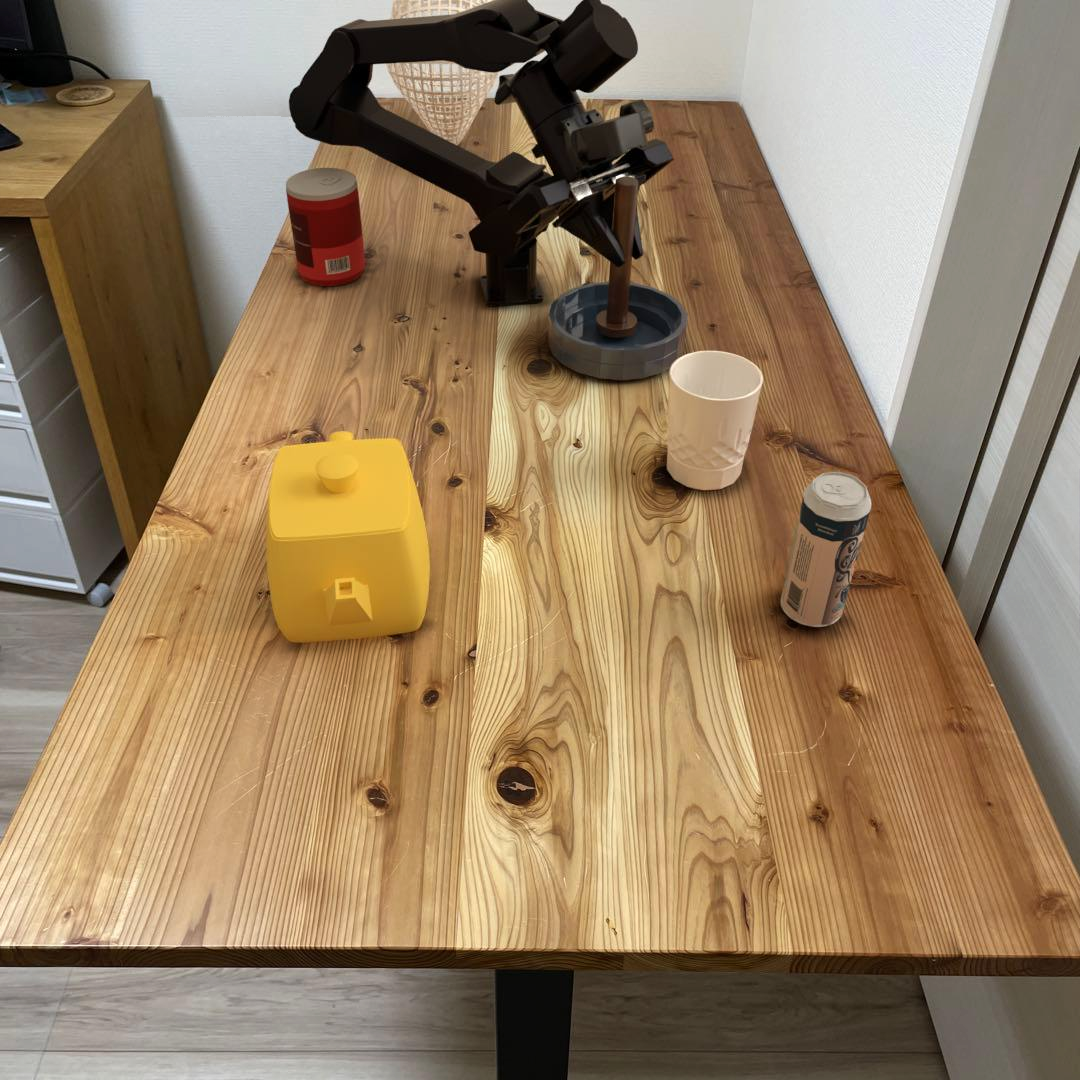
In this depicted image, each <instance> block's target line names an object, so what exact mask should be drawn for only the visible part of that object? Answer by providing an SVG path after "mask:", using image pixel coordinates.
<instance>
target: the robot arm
mask: <svg viewBox="0 0 1080 1080" xmlns="http://www.w3.org/2000/svg"><path fill="white" fill-rule="evenodd" d="M543 53H546V54H545V55H544V57H542V58H541V59H540V60H537V59H536V60H534V58H535V57H538V56H539V55H540V54H543ZM638 53H639V43H638V39H637V35H636V33H635V31H634V29H633V27H632V25H631V24H630V22H629V21H628V19H627V18H626V17H625V16H622V15H621V14H620V13H619V12H618V11H617V10H616V9H614V8H613V7H611V5H608V4H605V3H603V2H602V1H601V0H581V1H580V2H579V3H578V4H577V5H576V6H575V7H574V9H573V11H572V13H571V14H569V16H567V17H566V18H565V19H564V20H563V19H560V18H558V17H555V16H553V15H551V14H547V13H546V12H545V13H544V12H542V11H540V10H537V9H535V7H534V6H533V5H532V4H531V3H530V2H529V1H528V0H494V1H493V0H492V1H491V2H488V3H485V4H482V5H479V6H477V7H474V8H473V7H472V8H471V9H468V8H467V10H466V11H463V12H460V13H457V12H456V13H454V14H453V13H451V15H448V14H441V15H439V16H438V15H433V16H431V15H430V16H428V15H427V16H426V15H425V17H422V16H420V17H417V16H416V17H414V16H413V17H410V18H406V17H403V18H401V19H388V18H387V19H378V20H366V19H364V18H363V19H362V18H359V19H356V20H352V21H350V22H348V23H346V24H343V25H340V26H339V27H336V28H334V29H333V30H332V32H331V33H330V35H329V36H328V37H327V39H326V41H325V44H324V46H323V49H322V50H321V52H320V53H319V54H318V56H317V57H316V59H315V60H314V62H312V64H311V66H310V67H308V69H307V71H306V72H305V73H304V75H303V77H302V78H301V80H300V81H299V82H300V83H299V85H297V86H295V87H294V88H293V89H292V90H291V92H290V94H289V98H288V110H289V114H290V117H291V119H292V121H293V124H294V127H295V129H296V130H297V131H298V132H299V133H300V134H301V135H302V136H304V137H306V138H307V139H311V140H314V141H317V142H319V143H324V144H327V145H330V146H340V147H341V146H342V147H357V148H361V149H364V150H366V151H367V152H369V153H371V154H373V155H375V156H377V157H379V158H381V159H383V160H385V161H387V162H389V163H390V164H393V165H394V166H397V167H398V168H400V169H403V170H404V171H407V172H408V173H410V174H412V175H414V176H416V177H418V178H420V179H421V180H424V181H426V182H428V183H429V184H432V185H433V186H435V187H437V188H439V189H442V190H444V191H445V192H446V193H449V194H451V195H453V196H455V197H457V198H459V199H460V200H463V201H464V202H466V203H467V204H468V205H469V206H470V207H471V209H472V210H473V213H474V214H475V215H476V217H477V219H478V220H479V223H478V224H477V225H475V226H474V227H473V228H472V229H470V230H469V232H468V237H469V239H470V243H471V245H472V248H473V250H474V251H475V252H478V253H481V254H485V275H481V276H479V282H480V286H481V289H482V293H483V296H484V300H485V303H486V305H488V307H489V306H490V307H493V306H505V305H518V304H529V303H530V304H532V303H542V302H544V300H545V296H544V293H543V290H542V287H541V285H540V282H539V279H538V277H537V276H538V274H537V272H538V266H537V263H538V239H537V237H539V236H540V235H541V234H542V233H545V232H546V231H547V230H548V228H549V225H550V224H551V225H552V226H553V228H554V229H557V228H562V229H563V230H564V231H566V232H568V233H569V234H571V235H572V236H574V237H576V238H577V239H579V240H580V241H582V243H585V244H586V245H587V246H588V247H590V248H592V249H593V250H595V252H597V253H598V254H600V255H601V256H602V257H604V258H605V259H606V260H607V261H609V263H610V262H611V263H613V264H614V265H615V266H617V267H621V266H622V265H624V264H625V263H626V260H625V258H624V255H623V252H622V250H621V247H620V245H619V243H618V241H617V239H616V237H615V235H614V233H613V231H612V226H613V211H614V197H615V182H616V179H617V178H619V177H633V178H635V179H637V180H638V193H637V196H639V192H640V188H641V186H642V185H644V184H646V183H648V181H650V180H651V179H652V178H653V177H654V176H656V175H657V174H658V173H660V172H661V171H662V170H663V169H664V168H665V167H667V166H669V164H670V163H672V162H673V161H674V160H675V159H674V157H673V155H672V152H671V151H670V148H669V146H668V145H667V143H666V141H664V140H661V139H658V138H654V139H651V140H648V139H647V134H650V133H653V132H654V129H655V121H654V119H653V115H652V113H651V111H650V109H649V107H648V106H647V104H646V103H645V101H644V100H643V99H642V98H641V99H638V100H634V101H630V102H628V103H625V104H622V105H620V107H619V115H618V116H616V117H613V118H609V119H607V120H604V119H603V117H602V115H601V113H600V112H599V111H598V110H597V109H596V108H594V109H590V110H588V111H587V110H586V107H585V105H584V104H583V101H582V100H581V98H580V96H579V94H578V92H577V91H579V92H582V93H586V94H591V93H594V92H595V91H596V90H598V89H599V88H600V87H601V86H602V85H604V84H605V83H606V82H607V81H608V80H610V79H611V78H612V77H613V76H614V75H615V74H617V73H618V72H619V71H620V70H621V69H623V68H624V67H625V66H626V65H627V64H628V63H629V62H631V61H632V60H633V59H634V58H636V56H637V55H638ZM532 59H533V60H532ZM426 61H449V62H454V63H456V64H455V65H457V66H458V65H460V66H461V67H462V69H463V68H464V69H465V68H466V69H467V70H469V69H472V70H474V71H475V70H478V71H481V72H483V73H484V72H491V73H496V72H498V73H499V72H502V71H504V70H506V69H508V68H509V67H511V66H513V65H514V64H523V65H522V66H521V67H520V68H519V69H518V70H516V72H515V73H509V74H508V73H507V74H500V75H499V77H498V86H497V89H496V91H495V96H494V99H493V100H494V102H493V103H495V105H497V106H500V105H506V104H515V103H516V105H517V107H518V109H519V110H520V113H521V115H522V116H523V118H524V121H525V123H526V124H527V127H528V128H529V131H530V132H531V135H532V136H533V138H534V140H535V142H536V144H535V145H534V146H533V147H532V148H531V152H532V154H533V156H534V158H535V160H536V159H540V158H543V157H544V159H545V161H546V163H547V165H548V167H549V169H550V170H551V172H552V174H551V173H549V172H547V171H545V170H546V169H547V165H546V164H538V163H536V162H533V161H531V160H529V159H528V158H527V157H525V156H524V155H522V154H521V153H519V152H516V151H512V152H510V153H508V154H507V155H506V156H504V157H503V158H500V160H498V161H490V160H487V159H485V158H483V157H481V156H479V155H477V154H475V153H473V152H471V151H470V150H467V149H465V148H463V147H461V146H459V145H455V144H453V143H451V142H449V141H447V140H445V139H444V138H442V137H440V136H438V135H436V134H434V133H432V132H430V131H429V129H428V130H427V129H426V128H424V127H421V126H420V125H418V124H416V123H414V122H412V121H410V120H409V119H406V118H404V117H402V116H400V115H398V114H396V113H394V112H392V111H390V110H388V109H386V108H384V107H383V106H382V105H381V103H380V102H379V100H378V99H377V98H376V96H375V94H374V92H373V91H372V90H371V89H370V87H369V86H370V84H371V81H372V79H373V73H374V72H373V71H374V65H386V64H389V63H392V64H393V63H406V64H408V63H407V62H426ZM616 160H617V161H616ZM614 161H615V162H614ZM613 162H614V163H613ZM643 255H644V249H643V242H642V236H641V229H640V222H639V215H638V204H637V205H636V217H635V229H634V241H633V253H632V259H633V260H639V259H640V258H642V257H643Z"/></svg>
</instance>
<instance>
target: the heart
mask: <svg viewBox="0 0 1080 1080" xmlns="http://www.w3.org/2000/svg"><path fill="white" fill-rule="evenodd" d="M480 1H481V2H480ZM491 1H494V0H486V1H485V0H393V2H392V6H391V7H392V8H391V14H390V19H401V18H411V14H413V18H414V17H426V15H425V12H427V16H434V14H433V12H434V11H437V16H439V15H442V11H447V15H452V12H455V13H456V14H457V13H460V12H463V11H466V10H468V7H469V9H471V8H474V7H477V6H479V5H482V4H485V3H488V2H491ZM416 4H417V5H416ZM444 5H447V6H444ZM452 5H456V7H455V6H452ZM462 6H464V8H463V7H462ZM414 64H416V65H414ZM423 64H424V69H423ZM385 65H386V68H387V71H388V73H389V75H390V77H391V80H392V82H393V83H394V85H395V87H396V88H397V90H398V91H399V92H400V94H401V95H402V97H403V98H404V99H405V100H406V101H407V103H408V104H409V105H410V107H412V109H413V110H414V112H415V113H416V115H417V116H418V117H419V118H420V120H421V121H422V123H423V125H425V126H426V128H427V129H428V131H430V132H432V133H434V134H436V135H438V136H440V137H442V138H444V139H445V140H447V141H449V142H451V143H453V144H455V145H457V146H459V144H460V143H461V142H462V141H463V139H464V138H465V136H466V134H467V133H468V131H469V129H470V127H471V126H472V123H473V122H474V120H475V118H476V116H477V115H478V113H479V112H480V109H481V107H482V106H483V104H484V102H485V100H486V99H487V97H488V95H489V94H490V92H491V91H492V88H493V87H494V84H495V82H496V80H497V77H498V75H499V72H496V73H491V72H484V71H483V73H482V71H478V70H472V69H466V68H464V72H463V67H461V66H460V65H458V64H456V63H454V62H449V61H426V62H407V63H389V64H385ZM436 65H438V67H439V72H437V71H436ZM443 65H449V66H448V67H449V68H448V69H449V70H448V71H449V72H444V68H443ZM453 65H457V72H453ZM428 69H429V70H428ZM414 70H415V71H416V73H417V74H415V72H414ZM424 75H425V76H424ZM467 81H468V82H467ZM444 82H448V83H444ZM454 82H456V83H454ZM417 85H418V86H419V87H420V88H418V86H417ZM474 85H476V86H475V87H474ZM425 86H426V88H427V89H426V90H425ZM437 87H440V91H438V88H437ZM446 87H447V88H449V90H446V91H445V88H446ZM455 87H456V90H454V88H455ZM467 87H468V88H467ZM466 88H467V89H466ZM428 97H430V100H431V101H430V100H429V98H428ZM465 97H466V99H464V98H465ZM435 98H436V101H435ZM439 98H441V102H440V99H439ZM445 98H449V101H448V102H446V99H445ZM459 98H460V100H458V99H459ZM437 108H438V110H437ZM447 109H449V110H447ZM448 121H449V122H448ZM448 131H449V132H448Z"/></svg>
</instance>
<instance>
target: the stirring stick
mask: <svg viewBox="0 0 1080 1080" xmlns="http://www.w3.org/2000/svg"><path fill="white" fill-rule="evenodd" d="M637 193H638V194H639V192H638V180H637V179H635V178H633V177H619V178H617V179H616V182H615V197H614V211H613V226H612V231H613V233H614V235H615V237H616V239H617V241H618V243H619V245H620V247H621V250H622V252H623V255H624V258H625V260H626V263H625V264H624V265H622V266H621V267H617V266H615V265H614V264H613V263H611V262H610V261H609V269H608V270H609V272H608V282H609V285H608V299H607V310H604V311H602V312H600V313H599V314H598V315H597V316H596V323H595V327H596V330H597V331H598V332H599V333H601V334H602V335H605V336H608V337H613V338H622V337H627V336H630V335H632V334H633V333H635V331H636V329H637V318H636V316H635V315H634V314H633V313H631V312H629V311H628V301H629V289H630V283H631V275H632V263H633V257H632V253H633V241H634V229H635V217H636V205H637V206H638V195H637Z"/></svg>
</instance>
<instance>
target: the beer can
mask: <svg viewBox="0 0 1080 1080" xmlns="http://www.w3.org/2000/svg"><path fill="white" fill-rule="evenodd" d="M871 510H872V499H871V496H870V493H869V491H868V486H867V485H866V484H865V483H864V482H862V481H861V480H860V479H859V478H858V477H857V476H854V475H851V474H848V473H845V472H843V471H842V472H841V471H832V472H822V473H821V474H819V475H818V476H817V477H815V478H813V479H812V481H811V482H810V483H809V484H808V485H806V487H805V489H803V495H802V500H801V505H800V510H799V514H798V518H797V523H796V529H795V531H794V537H793V542H792V547H791V551H790V556H789V561H788V565H787V570H786V575H785V579H784V584H783V587H782V593H781V597H780V606H781V609H782V611H783V612H784V613H785V614H786V615H787V617H788V618H790V619H791V620H792V621H794V622H796V623H799V624H800V625H803V626H808V627H810V628H822V627H829V626H831V625H833V624H835V623H837V621H839V620H840V619H841V618H842V616H843V612H844V609H845V605H846V602H847V597H848V594H849V590H850V586H851V583H852V579H853V575H854V572H855V567H856V564H857V560H858V557H859V554H860V549H861V547H862V542H863V539H864V535H865V531H866V527H867V524H868V520H869V516H870V514H871Z"/></svg>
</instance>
